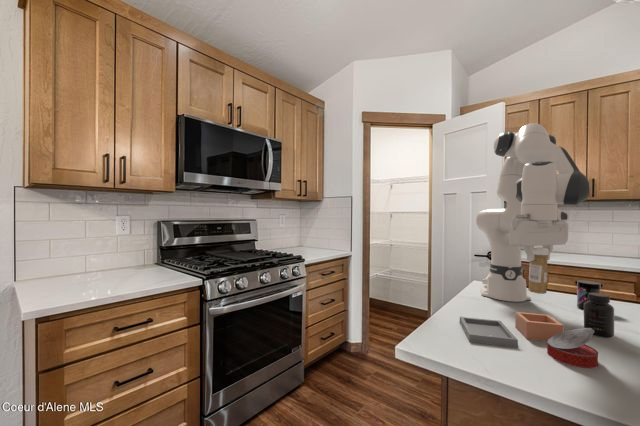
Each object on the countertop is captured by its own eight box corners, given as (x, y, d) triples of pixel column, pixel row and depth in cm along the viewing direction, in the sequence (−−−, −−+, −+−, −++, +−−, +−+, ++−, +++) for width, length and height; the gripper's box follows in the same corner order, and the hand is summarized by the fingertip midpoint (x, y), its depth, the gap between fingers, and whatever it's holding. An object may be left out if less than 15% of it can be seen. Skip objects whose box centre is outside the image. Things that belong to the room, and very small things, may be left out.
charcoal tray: (459, 322, 98) (459, 316, 98) (500, 327, 95) (500, 320, 95) (469, 341, 84) (469, 334, 84) (517, 347, 80) (517, 339, 80)
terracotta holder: (515, 327, 94) (515, 311, 94) (548, 330, 92) (548, 314, 92) (526, 338, 86) (526, 321, 86) (563, 343, 83) (563, 325, 83)
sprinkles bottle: (550, 294, 87) (552, 249, 87) (536, 294, 87) (538, 249, 86) (537, 289, 92) (539, 246, 91) (524, 289, 91) (526, 246, 91)
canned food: (586, 388, 70) (580, 356, 67) (540, 363, 79) (533, 335, 76) (612, 359, 73) (607, 328, 70) (565, 339, 82) (559, 310, 79)
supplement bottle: (584, 327, 95) (584, 290, 95) (614, 333, 90) (614, 294, 90) (582, 333, 90) (583, 294, 90) (614, 340, 86) (614, 298, 86)
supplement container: (579, 305, 119) (579, 279, 119) (602, 309, 114) (602, 282, 114) (574, 308, 115) (574, 281, 115) (597, 313, 110) (598, 285, 110)
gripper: (523, 214, 83) (523, 263, 83) (573, 214, 89) (572, 260, 89) (503, 214, 89) (502, 260, 89) (551, 214, 95) (550, 257, 95)
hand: (538, 260), depth 89 cm, fingers closed on sprinkles bottle, 4 cm apart
